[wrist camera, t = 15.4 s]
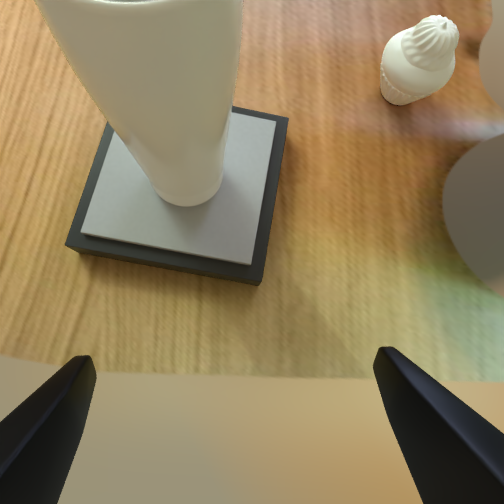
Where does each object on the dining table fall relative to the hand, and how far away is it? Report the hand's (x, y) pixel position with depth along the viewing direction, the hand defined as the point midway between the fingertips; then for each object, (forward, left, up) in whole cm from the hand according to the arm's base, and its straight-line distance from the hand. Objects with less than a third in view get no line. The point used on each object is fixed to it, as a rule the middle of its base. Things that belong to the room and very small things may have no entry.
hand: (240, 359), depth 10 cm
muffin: (+26, -11, -14) cm, 31 cm away
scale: (+12, +6, -14) cm, 19 cm away
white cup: (+11, +5, -11) cm, 17 cm away
